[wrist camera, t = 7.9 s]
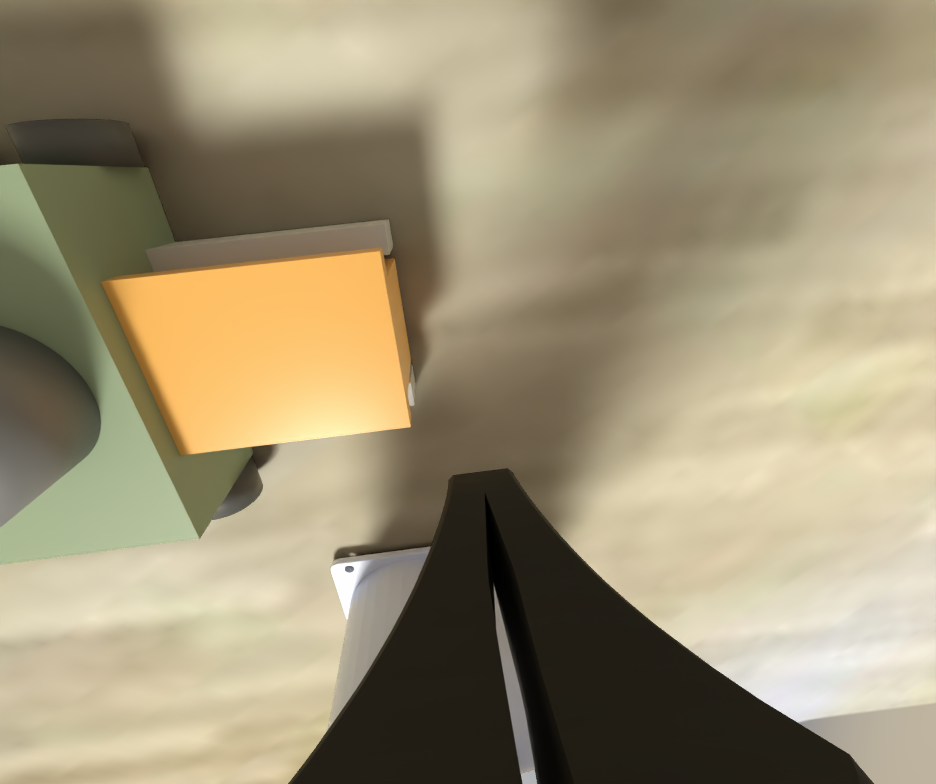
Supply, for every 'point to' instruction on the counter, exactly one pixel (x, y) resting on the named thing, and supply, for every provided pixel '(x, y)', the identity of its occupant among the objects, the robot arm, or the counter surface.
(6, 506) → the mower housing
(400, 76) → the counter surface
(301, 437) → the orange slab
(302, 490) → the counter surface
